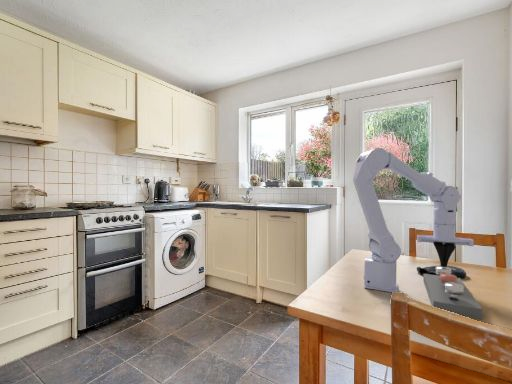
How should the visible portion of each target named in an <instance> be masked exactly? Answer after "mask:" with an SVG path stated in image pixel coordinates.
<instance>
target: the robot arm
mask: <svg viewBox="0 0 512 384" xmlns="http://www.w3.org/2000/svg"><path fill="white" fill-rule="evenodd" d="M382 170H389V171H392V172H394V173H396V174H397V175H399V176H401V177H403V178H405V179H407V180H409V181H411V185H412V188H414V189H416V190H417V191H419V192H421V193H423V194H424V195H426V196H427V197H429V199H430V201H431V202H433V223H432V224H433V226H432V230H433V235H426V234H425V235H423V234H422V235H421V234H420V235H419V234H417V235H416V241H417V242H418V243H431V244H432V245H434V248H435V250H436V253H437V255H438V259H439V264H440V265H441V267H447V266H448V263H449V260H450V258H451V256H452V255H453V253H454V251H455V250H456V245H457V246H469V247H474V242H475V241H474V239H472V238H465V237H464V238H462V237H456V223H457V222H456V215H457V214H456V213H457V212H456V211H457V210H456V209H457V208H458V203H459V202H460V201H461V198H462V195H461V194H460V191H459V190H458V188H456V187H455V186H453V185H447V183H446V182H445V181H444V180H439V179H438V178H436V177H434V173H432V172H429V171H428V172H425V171H422V172H419V171H417V170H415V169H414V168H413V167H412V166H410V165H409V164H407V163H406V162H404V161H402V160H401V159H399V158H398V157H397V156H396V155H394V153H393V152H389V151H387V150H386V149H385V148H383V147H376V148H373V149H372V150H368V151H364V152H362V153H361V154H360V155H359V156H358V158H357V159H356V160H355V170H354V173H353V179H352V180H353V184H354V187H355V190H356V194H357V197H358V200H359V203H360V206H361V209H362V213H363V215H364V218H365V221H366V223H367V224H366V225H367V227H368V230H369V233H368V235H367V237H368V240H369V242H368V249H369V251H370V252H371V257H365V258H364V270H363V271H364V272H363V273H364V274H363V281H364V284H363V288H365V289H371V290H376V291H383V292H387V293H388V292H389V293H394V292H398V293H399V289H398V282H397V262H398V261H397V260H398V259H400V257H401V254H402V249H401V247H400V245H399V243H397V242H396V240H395V238H394V236H393V235H392V233H391V232H390V230H388V227H387V223H386V221H385V217H384V215H383V212H382V211H383V210H382V209H381V205H380V202H379V198H378V196H377V193H376V190H375V186H374V184H373V181H374V180H375V178H376V176H377V175H378V173H379V172H381V171H382ZM440 265H439V266H440Z"/></svg>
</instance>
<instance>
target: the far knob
mask: <svg viewBox="0 0 512 384" xmlns="http://www.w3.org/2000/svg"><path fill="white" fill-rule="evenodd" d="M435 266H436V273H435V275H440V274H441V273H447V274H451V268H449V267H441V266H440V265H435Z"/></svg>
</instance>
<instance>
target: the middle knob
mask: <svg viewBox="0 0 512 384" xmlns="http://www.w3.org/2000/svg"><path fill="white" fill-rule="evenodd" d="M440 282H442V283H444V284H445V283H446V282H454V283H457V276H455V275H452V274H447V273H441V274H440Z"/></svg>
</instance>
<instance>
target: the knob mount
mask: <svg viewBox="0 0 512 384" xmlns="http://www.w3.org/2000/svg"><path fill="white" fill-rule="evenodd" d="M422 276H423V278H422V279H423V280H422V281H423V284H424V287H425V291H426V294H427V297H428V298H429V302H430V305H431V307H432V306H434V307H437V308H440V309H444V310H447V311H450V312H454V313H457V314H460V315H459V316H461V315H463V316H462V317H466V316H467V317H466V318H468V317H469V318H472V319H473V318H474V319H478V320H483V308H482V307H481V305H480V304H479V302H478V301H477V300H476V299H475V297H474V296H473V294H472V293H471V292H470V290H469V288H468V287H467V286H466V285H465V283H464V282H463V281H462V278H457V283H458V284H461V285H463V286H464V293H463V295H457V301H455V300H451V294H449V293H447V292H445V284H444V283H442V282H440V276H438V274H433V275H431V273H430V274H423V275H422Z"/></svg>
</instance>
